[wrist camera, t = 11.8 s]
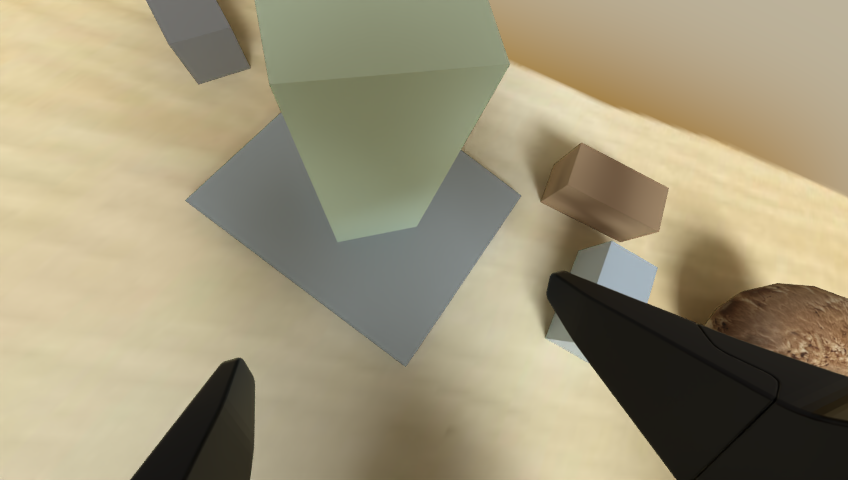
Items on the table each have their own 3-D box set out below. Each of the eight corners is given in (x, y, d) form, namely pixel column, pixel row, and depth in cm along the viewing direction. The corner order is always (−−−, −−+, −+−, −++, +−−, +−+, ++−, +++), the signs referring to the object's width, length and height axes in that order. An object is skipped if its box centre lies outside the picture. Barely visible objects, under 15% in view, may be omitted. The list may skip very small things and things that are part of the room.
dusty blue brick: (576, 251, 20) (611, 240, 17) (616, 274, 20) (657, 267, 17) (543, 338, 18) (576, 342, 15) (586, 362, 18) (627, 371, 16)
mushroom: (821, 253, 19) (965, 300, 13) (817, 365, 21) (941, 450, 15) (668, 272, 21) (732, 319, 15) (676, 371, 23) (736, 448, 17)
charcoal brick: (251, 70, 19) (230, 27, 16) (200, 86, 18) (168, 44, 15) (209, -7, 19) (182, -62, 17) (158, 6, 19) (120, -50, 16)
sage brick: (416, 226, 18) (509, 64, 6) (337, 242, 17) (269, 84, 5) (399, 156, 18) (452, -107, 7) (322, 167, 17) (234, -118, 6)
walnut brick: (628, 204, 21) (668, 188, 19) (618, 242, 21) (658, 231, 18) (552, 165, 21) (581, 142, 18) (539, 202, 20) (567, 184, 17)
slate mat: (517, 199, 20) (521, 195, 19) (404, 365, 16) (405, 367, 16) (341, 65, 20) (340, 58, 19) (191, 204, 16) (184, 200, 16)
